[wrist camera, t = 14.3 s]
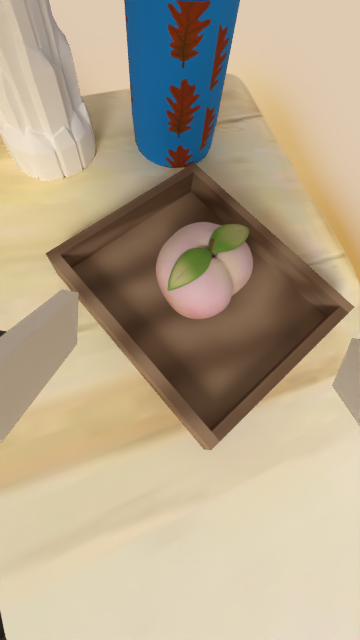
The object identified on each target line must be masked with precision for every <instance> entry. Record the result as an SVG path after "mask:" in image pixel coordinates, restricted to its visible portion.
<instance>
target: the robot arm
mask: <svg viewBox="0 0 360 640" xmlns="http://www.w3.org/2000/svg"><path fill="white" fill-rule="evenodd" d="M77 324H78V292H73V291H67V290H61V291H60V292H58V293H57V294H56V295H55V296H53V297H52V298H51V299H49V300H48V301H47V302H45V303H44V304H43V305H41V306H40V307H39V308H37V309H36V310H35V311H34V312H32V313H31V314H30V315H28V316H27V317H26V318H24V319H23V320H22V321H20V322H19V323H18V324H16V325H15V326H14V327H13V328H11V329H10V330H9V331H7V332H6V331H0V444H1V443H2V441H3V440H4V439H5V437H6V436H7V435H8V433H9V432H10V431H11V430H12V428H13V427H14V426H15V424H16V423H17V422H18V420H19V419H20V418H21V416H22V415H23V414H24V412H25V411H26V410H27V409H28V407H29V406H30V405H31V403H32V402H33V401H34V399H35V398H36V397H37V395H38V394H39V393H40V392H41V390H42V389H43V388H44V386H45V385H46V384H47V382H48V381H49V380H50V378H51V377H52V376H53V375H54V373H55V372H56V371H57V369H58V368H59V367H60V365H61V364H62V363H63V361H64V360H65V359H66V358H67V356H68V355H69V354H70V352H71V351H72V350H73V348H74V347H75V346H76V344H77ZM332 386H333V388H334V389H335V391H336V392H337V393H338V395H339V396H340V398H341V399H342V401H343V402H344V404H345V405H346V407H347V408H348V410H349V411H350V413H351V414H352V415H353V417H354V418H355V420H356V421H357V423H358V424H359V426H360V339H356V338H352V340H351V343H350V345H349V347H348V350H347V352H346V354H345V357H344V359H343V362H342V364H341V366H340V369H339V371H338V373H337V376H336V378H335V380H334V383H333V385H332ZM0 640H6V637H5V633H4V628H3V623H2V618H1V613H0Z"/></svg>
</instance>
